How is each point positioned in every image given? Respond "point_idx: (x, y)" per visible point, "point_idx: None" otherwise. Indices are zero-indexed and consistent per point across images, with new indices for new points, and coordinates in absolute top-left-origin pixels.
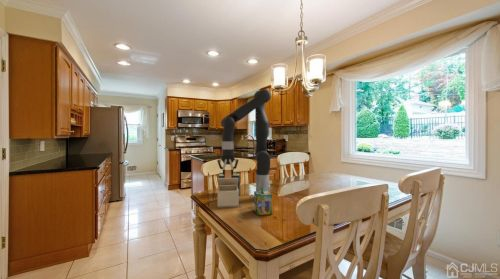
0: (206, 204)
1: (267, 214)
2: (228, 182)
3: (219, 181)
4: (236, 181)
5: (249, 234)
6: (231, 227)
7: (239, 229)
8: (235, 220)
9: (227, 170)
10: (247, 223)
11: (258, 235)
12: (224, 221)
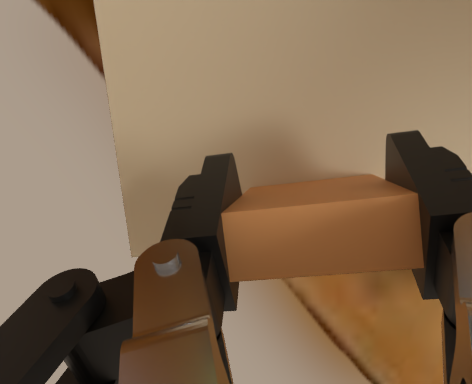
0: (79, 23)
1: None
2: (299, 2)
3: (147, 110)
4: (469, 35)
5: (408, 372)
6: (334, 333)
7: (370, 345)
8: (354, 280)
9: (305, 269)
10: (417, 305)
11: (443, 377)
12: (295, 288)
